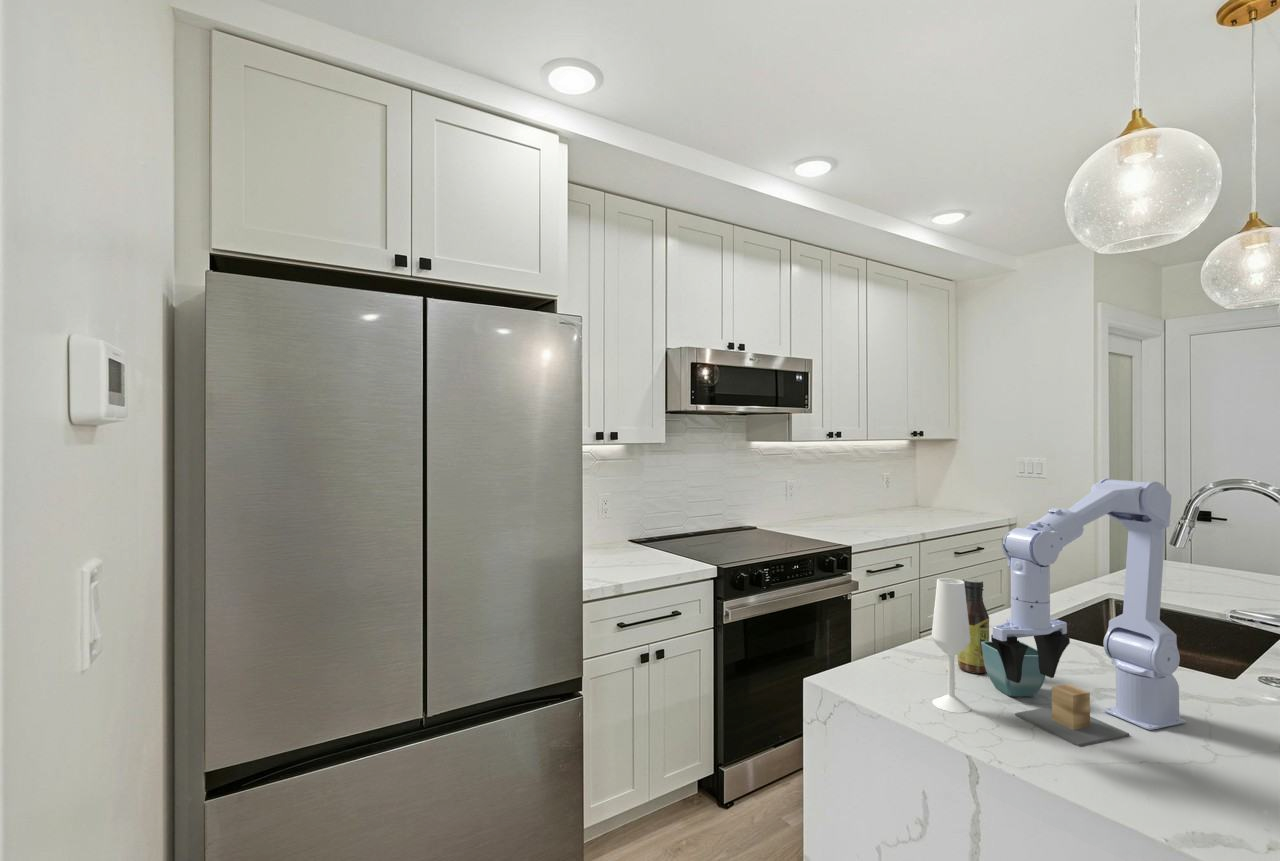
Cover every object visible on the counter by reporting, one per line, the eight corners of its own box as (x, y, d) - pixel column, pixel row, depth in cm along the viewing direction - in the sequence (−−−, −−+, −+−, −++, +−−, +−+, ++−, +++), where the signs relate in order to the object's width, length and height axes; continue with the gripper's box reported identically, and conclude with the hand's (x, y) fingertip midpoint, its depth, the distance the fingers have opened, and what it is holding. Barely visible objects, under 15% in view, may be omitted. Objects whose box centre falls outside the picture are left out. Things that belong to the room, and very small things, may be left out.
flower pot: (1021, 683, 128) (1020, 640, 129) (1050, 701, 120) (1050, 655, 120) (980, 683, 128) (979, 641, 128) (1006, 701, 119) (1006, 656, 119)
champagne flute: (932, 695, 122) (932, 575, 123) (970, 702, 119) (970, 579, 120) (931, 708, 117) (930, 582, 117) (971, 715, 113) (970, 586, 114)
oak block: (1068, 716, 112) (1068, 684, 112) (1090, 726, 108) (1089, 692, 108) (1051, 719, 111) (1051, 686, 111) (1073, 729, 107) (1073, 695, 107)
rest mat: (1062, 706, 117) (1062, 704, 117) (1129, 735, 106) (1129, 733, 106) (1015, 715, 114) (1015, 712, 114) (1078, 746, 102) (1078, 743, 102)
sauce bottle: (987, 677, 131) (986, 585, 132) (955, 670, 135) (954, 581, 135) (991, 668, 137) (990, 579, 137) (960, 662, 140) (960, 575, 141)
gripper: (1040, 590, 111) (1040, 665, 111) (977, 596, 107) (977, 674, 106) (1078, 600, 104) (1078, 680, 104) (1013, 606, 100) (1013, 690, 100)
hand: (1030, 678), depth 105 cm, fingers open, 7 cm apart
